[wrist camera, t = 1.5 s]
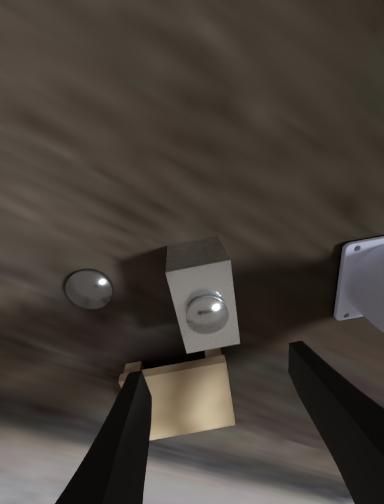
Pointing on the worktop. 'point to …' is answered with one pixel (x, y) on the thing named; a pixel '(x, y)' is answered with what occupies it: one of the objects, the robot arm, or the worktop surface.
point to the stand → (187, 395)
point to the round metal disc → (89, 288)
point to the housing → (203, 293)
